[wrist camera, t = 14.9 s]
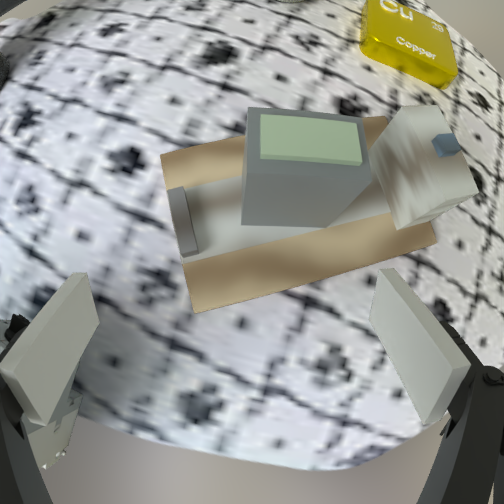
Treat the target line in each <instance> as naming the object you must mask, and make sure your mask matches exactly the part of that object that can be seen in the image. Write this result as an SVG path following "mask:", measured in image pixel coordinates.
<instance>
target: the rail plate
mask: <svg viewBox="0 0 504 504" xmlns="http://www.w3.org/2000/svg"><path fill="white" fill-rule="evenodd" d="M362 121H363V126H364V132H365V138H366V144H367V150H368V156H369V163H370V169H371V177H372V182H371V183H370V184H369V185H368V186H367V187H366V188H365V189H364V190H363V191H362V192H361V193H360V194H359V195H358V196H357V197H356V198H355V199H354V200H353V201H352V202H351V203H350V204H349V205H348V206H347V207H346V208H345V210H344V211H343V212H342V213H341V214H340V215H339V216H338V217H337V218H336V219H335V220H334V221H333V222H332V223H331V224H330V225H329V226H328V227H327V228H313V227H283V226H247V225H241V196H242V169H243V157H244V146H245V135H243V136H238V137H233V138H228V139H223V140H219V141H214V142H210V143H205V144H201V145H197V146H193V147H188V148H184V149H180V150H176V151H172V152H169V153H165V154H161V155H160V158H161V164H162V169H163V175H164V180H165V185H166V190H167V196H168V201H169V206H170V211H171V216H172V221H173V226H174V231H175V235H176V240H177V244H178V249H179V253H180V258H181V262H182V266H183V270H184V274H185V278H186V282H187V287H188V291H189V295H190V299H191V303H192V307H193V311H194V313H195V314H196V313H200V312H204V311H208V310H212V309H216V308H220V307H224V306H228V305H231V304H235V303H239V302H243V301H247V300H250V299H254V298H258V297H261V296H265V295H269V294H272V293H276V292H280V291H283V290H287V289H290V288H294V287H298V286H301V285H305V284H308V283H312V282H315V281H318V280H322V279H325V278H329V277H332V276H335V275H339V274H342V273H345V272H349V271H352V270H355V269H359V268H362V267H365V266H368V265H372V264H375V263H378V262H381V261H384V260H388V259H391V258H394V257H397V256H400V255H403V254H406V253H409V252H412V251H415V250H418V249H422V248H425V247H428V246H431V245H433V244H436V243H437V240H436V237H435V234H434V231H433V228H432V225H431V223H430V220H432V219H434V218H435V217H437V216H439V215H441V214H443V213H444V212H446V211H448V210H450V209H451V208H453V207H455V206H457V205H458V204H460V203H462V202H464V201H465V200H467V199H469V198H471V197H472V196H474V195H476V194H477V193H479V191H478V188H477V186H476V183H475V181H474V179H473V176H472V174H471V172H470V169H469V167H468V165H467V162H466V160H465V158H464V156H463V154H462V152H461V147H460V145H459V143H458V141H457V139H456V137H455V135H454V133H452V131H451V129H450V127H449V125H448V123H447V122H446V120H445V118H444V116H443V114H442V112H441V111H440V109H439V107H438V105H418V106H402V107H401V108H400V110H399V111H398V112H397V114H396V115H395V116H394V118H393V119H392V120H391V122H390V123H388V121H387V119H386V117H385V116H378V117H367V118H362Z"/></svg>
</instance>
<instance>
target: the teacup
mask: <svg viewBox="0 0 504 504" xmlns="http://www.w3.org/2000/svg"><path fill="white" fill-rule="evenodd" d="M278 1H282V2H299V1H303V0H278Z"/></svg>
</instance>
